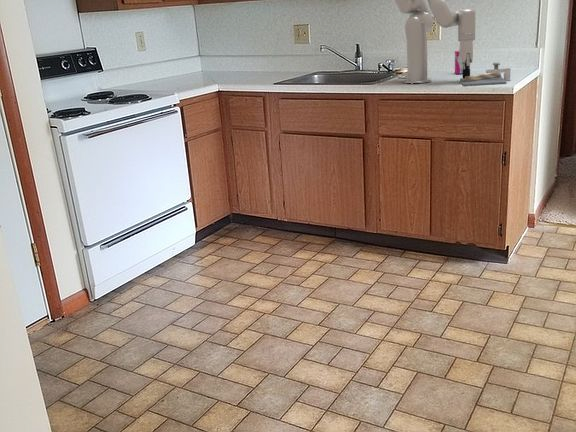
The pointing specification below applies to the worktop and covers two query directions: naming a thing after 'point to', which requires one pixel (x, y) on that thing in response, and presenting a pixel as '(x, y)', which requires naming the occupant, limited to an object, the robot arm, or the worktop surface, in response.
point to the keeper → (506, 72)
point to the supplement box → (458, 64)
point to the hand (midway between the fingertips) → (466, 78)
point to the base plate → (483, 81)
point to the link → (484, 76)
